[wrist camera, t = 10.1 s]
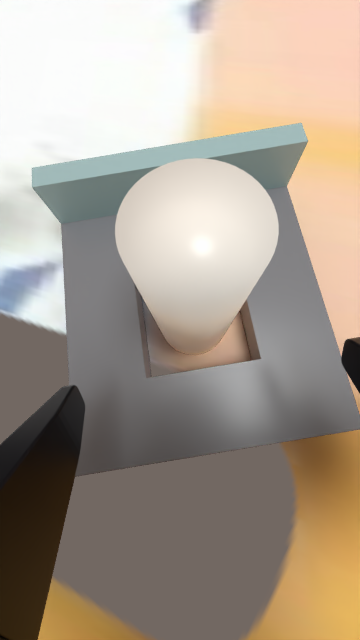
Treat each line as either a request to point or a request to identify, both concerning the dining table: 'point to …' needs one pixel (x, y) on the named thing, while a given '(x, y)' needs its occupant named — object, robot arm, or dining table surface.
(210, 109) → the dining table surface
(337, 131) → the dining table surface
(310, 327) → the housing
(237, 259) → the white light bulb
